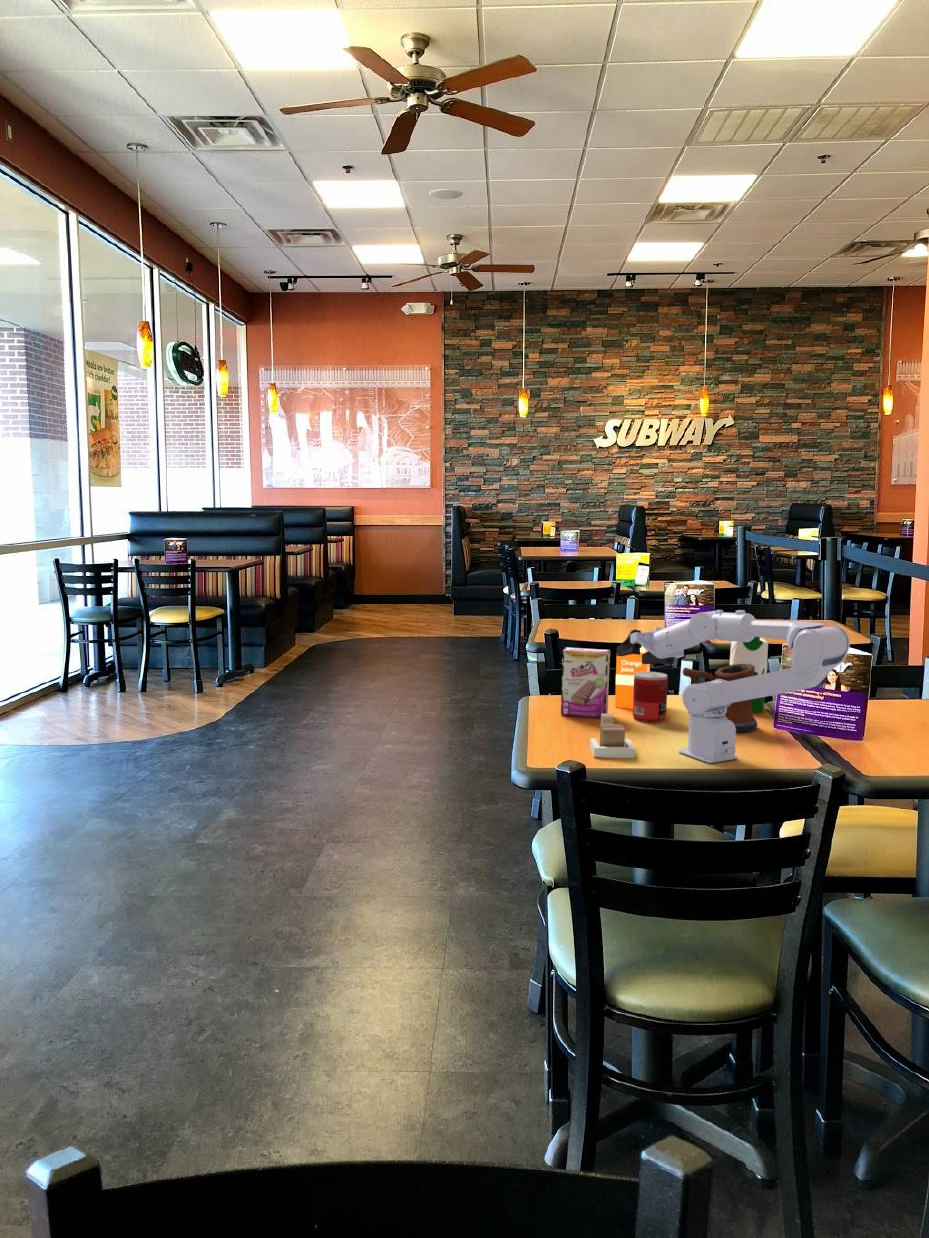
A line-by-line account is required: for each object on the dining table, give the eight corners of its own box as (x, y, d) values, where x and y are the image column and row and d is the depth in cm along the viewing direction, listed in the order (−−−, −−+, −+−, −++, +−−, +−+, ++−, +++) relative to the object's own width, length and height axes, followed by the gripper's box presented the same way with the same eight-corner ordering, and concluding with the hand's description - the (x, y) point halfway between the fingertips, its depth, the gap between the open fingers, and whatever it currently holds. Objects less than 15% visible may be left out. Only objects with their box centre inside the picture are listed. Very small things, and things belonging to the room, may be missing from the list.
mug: (689, 734, 211) (692, 669, 209) (672, 722, 223) (675, 660, 220) (765, 733, 213) (769, 669, 211) (745, 721, 224) (748, 659, 222)
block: (624, 755, 194) (624, 727, 193) (602, 755, 194) (603, 727, 193) (616, 740, 206) (616, 713, 205) (595, 739, 206) (596, 713, 205)
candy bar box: (560, 716, 228) (561, 650, 225) (563, 711, 232) (564, 646, 230) (606, 719, 225) (608, 652, 223) (608, 714, 230) (610, 649, 227)
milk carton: (731, 712, 233) (735, 633, 230) (725, 704, 242) (729, 628, 239) (767, 713, 232) (771, 634, 229) (760, 705, 241) (764, 629, 238)
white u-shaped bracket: (634, 758, 192) (635, 748, 192) (594, 757, 192) (594, 748, 192) (629, 748, 200) (629, 738, 199) (589, 747, 200) (590, 738, 200)
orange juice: (614, 707, 238) (617, 629, 235) (619, 700, 246) (621, 625, 243) (645, 709, 235) (648, 631, 233) (649, 702, 244) (651, 626, 241)
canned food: (666, 723, 221) (667, 678, 220) (632, 721, 223) (633, 676, 221) (665, 716, 229) (667, 672, 227) (632, 714, 230) (634, 670, 229)
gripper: (697, 629, 204) (652, 646, 214) (650, 612, 196) (606, 631, 206) (700, 659, 201) (654, 675, 211) (652, 643, 193) (607, 661, 204)
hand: (630, 655), depth 209 cm, fingers open, 7 cm apart
